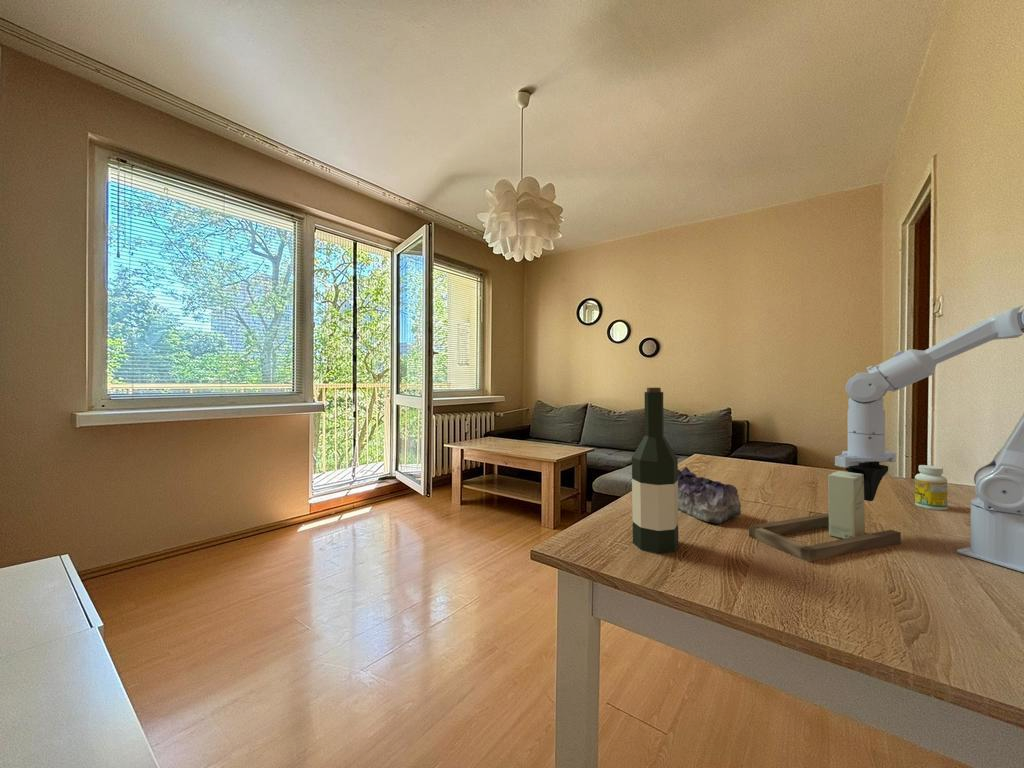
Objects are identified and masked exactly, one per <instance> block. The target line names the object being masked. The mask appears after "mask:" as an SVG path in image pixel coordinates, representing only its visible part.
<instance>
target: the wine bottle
mask: <svg viewBox="0 0 1024 768" xmlns="http://www.w3.org/2000/svg"><path fill="white" fill-rule="evenodd" d="M643 394H644V437H643V438H642V439H641V441H640V442H639V444H638V447H637V448H636V450H635V451H634V453H633V455H632V456H631V494H632V495H631V496H632V498H631V501H632V502H631V503H632V507H631V508H632V513H631V514H632V544H634V545H635V546H636V547H637V548H639V549H640V550H642V551H645V552H649V553H655V554H666V553H667V554H669V553H674V552H676V550H677V549H678V548H679V509H678V470H679V468H678V467H679V464H678V463H679V459H678V456H677V455H676V453H675V452H674V450H673V448H672V447H671V445H670V444H669V442H668V441H667V439H666V437H665V435H664V432H665V431H664V422H665V421H664V419H665V418H664V416H665V415H664V391H662V389H661V387H646V391H644V392H643Z"/></svg>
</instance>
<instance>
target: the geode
mask: <svg viewBox="0 0 1024 768" xmlns="http://www.w3.org/2000/svg"><path fill="white" fill-rule="evenodd" d="M738 491H739V490H738V489H737V487H736V485H733V484H730V483H728V484H726V483H725V484H724V483H722V482H721V481H717V480H715V481H714V480H712V479H709V478H706V477H703V476H701V477H700V476H697V475H696V473H694V472H691V470H690V469H689V468H688V467H687V466H685V467H684V468H683V469H682V470H680V469H678V510H680V511H682V512H683V513H686V514H687V515H688V516H690V517H694V518H696V519H699V520H701V521H704V522H708V523H712V524H715V525H719V524H722V523H723V522H726V521H727V520H728V519H731V518H733V517H737V516H739V515H741V506H742V505H741V501H740V495H739V493H738Z"/></svg>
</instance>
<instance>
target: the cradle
mask: <svg viewBox="0 0 1024 768" xmlns="http://www.w3.org/2000/svg"><path fill="white" fill-rule="evenodd" d="M826 527H829V512H827V513H822V514H815V515H809V516H804V517H803V516H802V517H797V518H792V519H791V518H790V519H785V520H778V521H772V522H766V523H761V524H754V525H749V526H748V536H749V537H750V538H752V539H755V540H757V541H759V542H761V543H763V544H766V545H769V546H771V547H773V548H775V549H778V550H780V551H781V552H782V551H783V552H785V553H787V554H790V555H792V556H794V557H796V558H799V559H800V560H803V561H806V562H808V563H811V562H817V561H822V560H826V559H831V558H834V557H835V558H836V557H840V556H845V555H850V554H851V555H852V554H855V553H861V552H864V551H869V550H873V549H878V548H883V547H888V546H893V545H897V544H901V542H902V540H901V539H902V532H900V531H897V530H894V529H887V530H882V531H877V532H876V531H875V532H872V533H868V534H866V533H865V535H861V536H856V537H850V538H845V539H842V538H839V539H835V540H831V541H826V542H821V543H816V544H815V543H814V544H810V545H805V544H803V543H801V542H799V541H795V540H793V539H790V538H788V537H785V536H783V535H787V534H792V533H798V532H803V531H808V530H815V529H819V528H826Z"/></svg>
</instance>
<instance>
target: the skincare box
mask: <svg viewBox="0 0 1024 768" xmlns="http://www.w3.org/2000/svg"><path fill="white" fill-rule="evenodd" d="M827 490H828V491H827V497H828V499H827V500H828V502H827V504H828V513H829V526H828V535H829V536H832V537H834V538H837V539H845V538H850V537H856V536H861V535H866V533H865V532H866V530H865V529H866V527H865V526H866V525H865V524H866V521H865V519H866V518H865V500H864V474H859V473H852V472H848V471H843V470H836V471H833V472H832V473H829V474H827Z"/></svg>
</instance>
